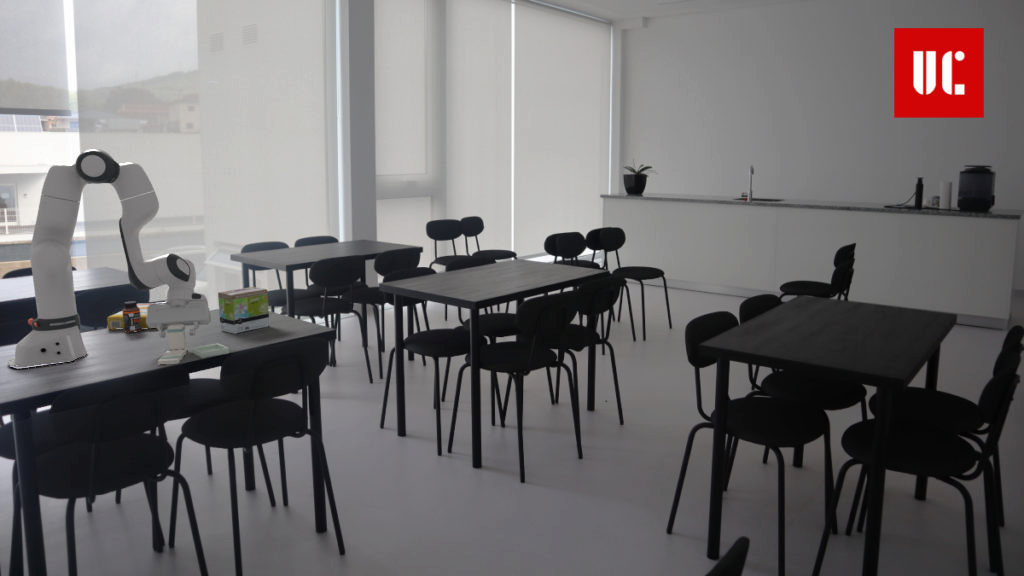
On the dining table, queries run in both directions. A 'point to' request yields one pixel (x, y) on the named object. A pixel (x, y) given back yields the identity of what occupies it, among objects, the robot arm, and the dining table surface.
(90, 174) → the robot arm
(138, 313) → the supplement bottle
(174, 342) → the white teal striped box
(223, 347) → the tray
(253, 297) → the tea box
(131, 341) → the dining table surface
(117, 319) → the cereal box
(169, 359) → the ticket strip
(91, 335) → the dining table surface
